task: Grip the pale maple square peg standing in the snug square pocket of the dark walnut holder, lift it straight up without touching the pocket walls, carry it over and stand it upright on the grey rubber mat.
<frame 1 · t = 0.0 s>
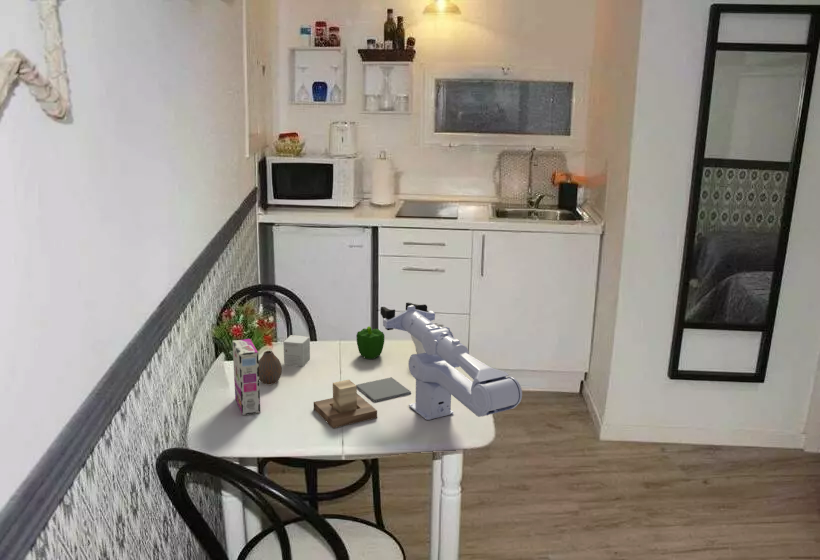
hand: (394, 308, 202), 22 cm above the table, tool horizontal, fingers open, 7 cm apart
product box: (297, 362, 222), on the table
lightbulb: (420, 360, 225), on the table
candy bar box: (248, 406, 193), on the table
holder: (345, 413, 190), on the table
bell pepper: (369, 356, 227), on the table
vase: (269, 382, 208), on the table
peg: (344, 399, 188), in the holder
mat: (383, 390, 203), on the table
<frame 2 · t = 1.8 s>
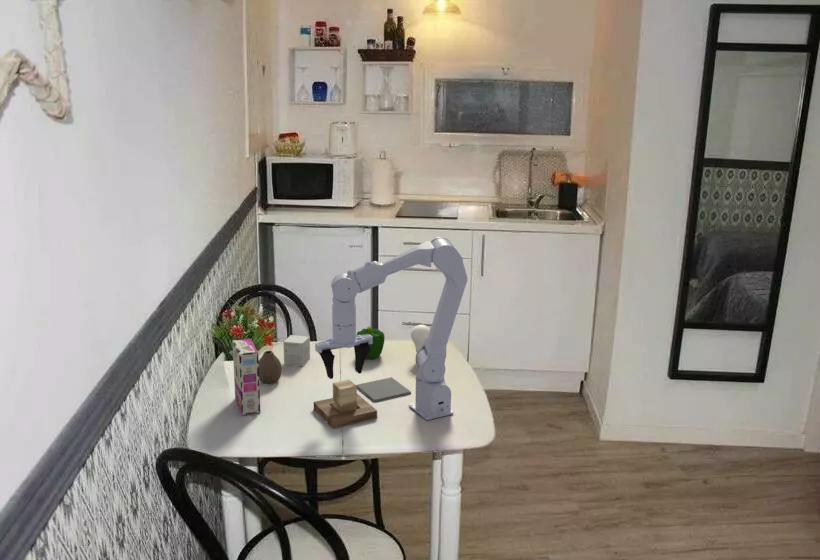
hand: (344, 374, 187), 10 cm above the table, tool pointing down, fingers open, 7 cm apart
nothing on the table moved.
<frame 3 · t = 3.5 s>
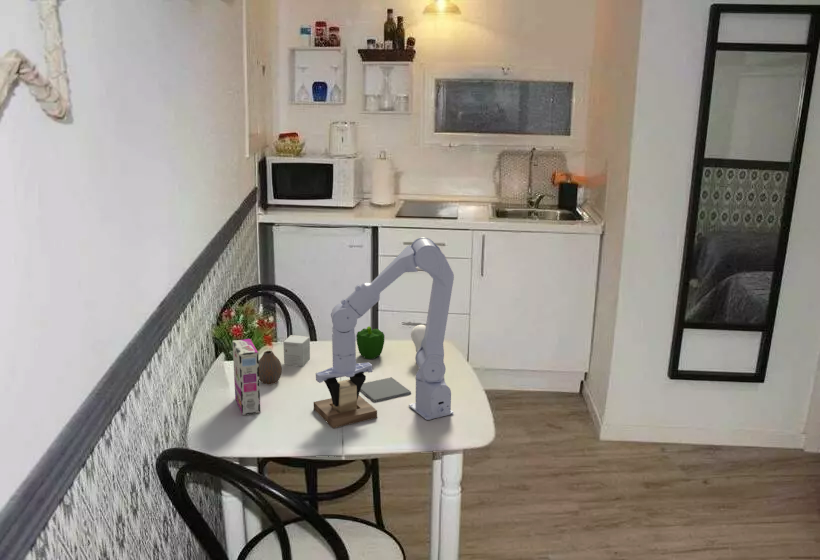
hand: (344, 402, 189), 3 cm above the table, tool pointing down, fingers closed on peg, 4 cm apart
peg: (344, 398, 188), in the holder, touching gripper
everything else where it was.
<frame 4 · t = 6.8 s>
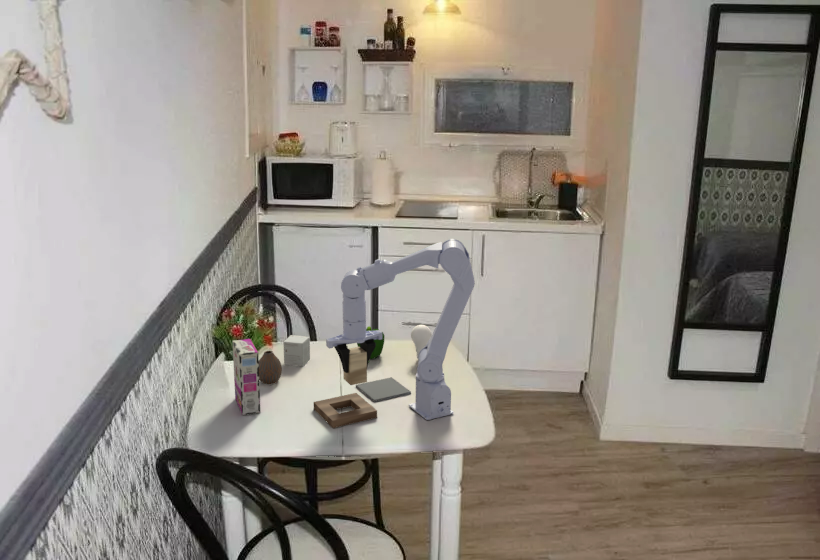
hand: (355, 369, 190), 10 cm above the table, tool pointing down, fingers closed on peg, 4 cm apart
peg: (355, 365, 190), point 11 cm above the table, touching gripper
everything else where it was.
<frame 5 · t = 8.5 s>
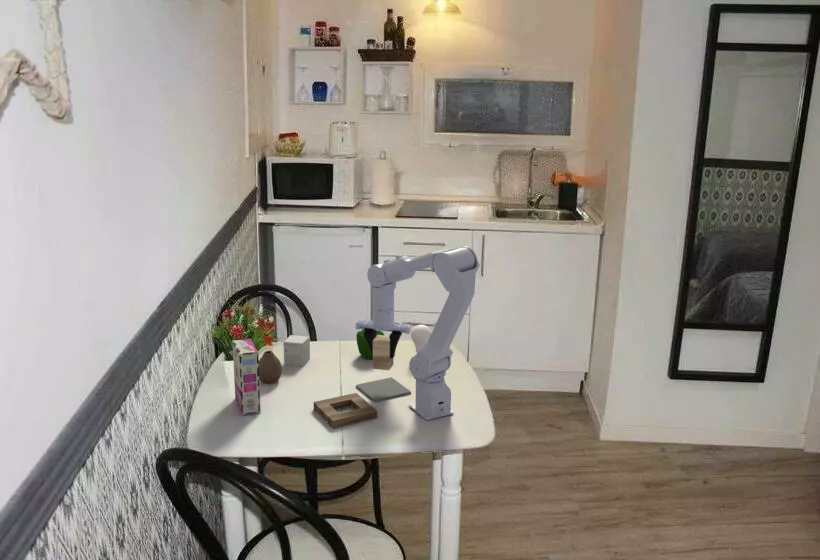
hand: (383, 356, 201), 10 cm above the table, tool pointing down, fingers closed on peg, 4 cm apart
peg: (383, 352, 200), point 11 cm above the table, touching gripper
everything else where it was.
when the fingers open (4 cm above the table, at t = 10.1 s): peg stays where it is, resting on mat.
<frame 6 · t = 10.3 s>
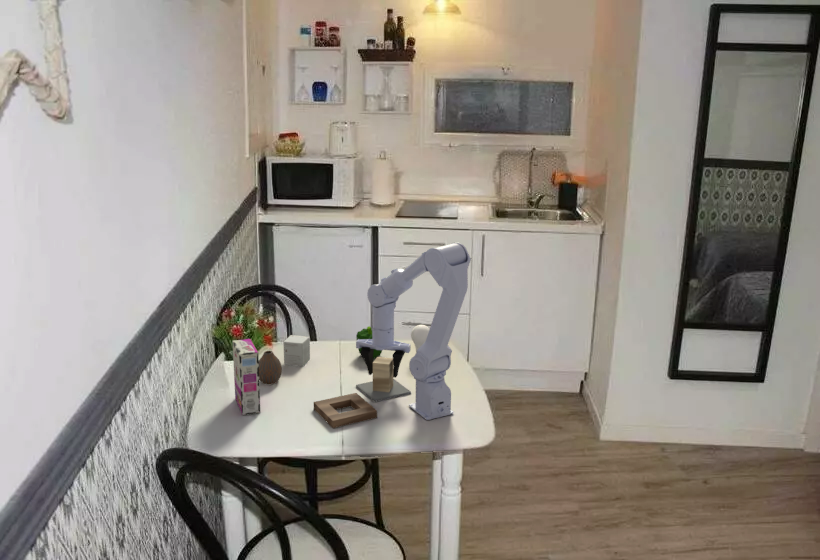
hand: (383, 374, 202), 4 cm above the table, tool pointing down, fingers open, 6 cm apart
peg: (383, 374, 202), on the mat, point 5 cm above the table
everything else where it was.
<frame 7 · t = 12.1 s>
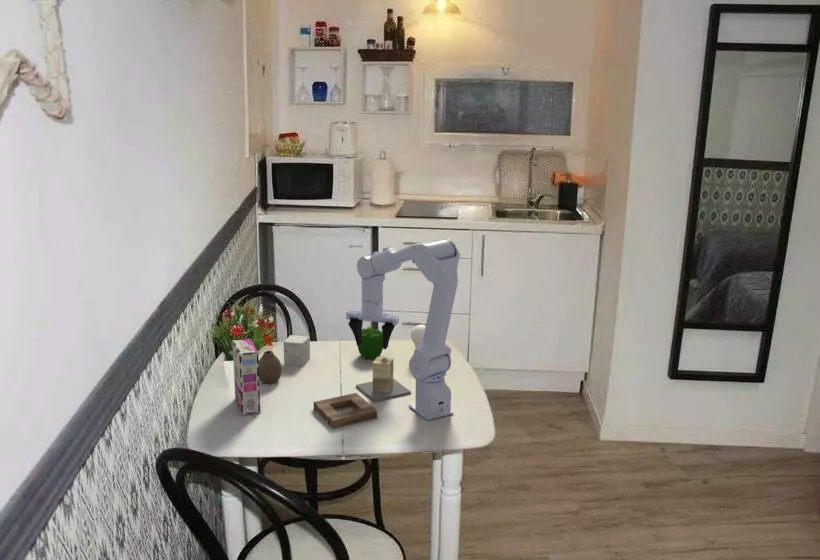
hand: (372, 346, 206), 11 cm above the table, tool pointing down, fingers open, 7 cm apart
nothing on the table moved.
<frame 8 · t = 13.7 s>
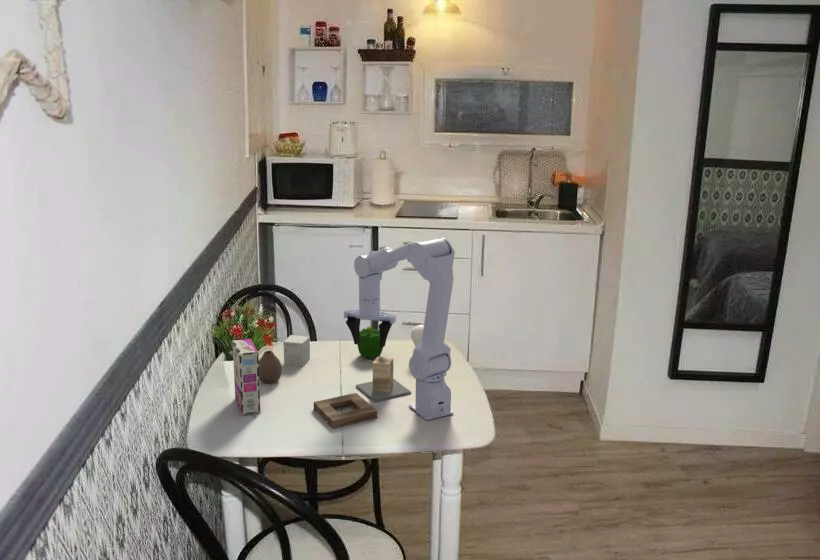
hand: (369, 344, 207), 10 cm above the table, tool pointing down, fingers open, 7 cm apart
nothing on the table moved.
at the end: peg inside the target area on the mat (0.0 cm from its centre), point 4.6 cm above the mat's base; the gripper is holding nothing; peg tilted 0° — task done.
